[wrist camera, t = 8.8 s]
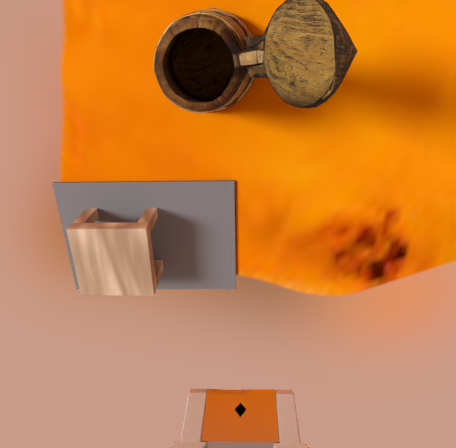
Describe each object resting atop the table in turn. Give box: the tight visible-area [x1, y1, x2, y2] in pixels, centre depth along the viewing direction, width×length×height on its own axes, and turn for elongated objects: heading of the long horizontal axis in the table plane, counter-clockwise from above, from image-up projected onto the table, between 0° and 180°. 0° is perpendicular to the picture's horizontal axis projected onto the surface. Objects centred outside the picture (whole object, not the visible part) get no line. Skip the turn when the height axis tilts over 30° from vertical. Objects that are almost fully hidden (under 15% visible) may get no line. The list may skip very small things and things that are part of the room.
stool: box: [66, 208, 163, 296], centre depth 41 cm, size 6×8×8 cm
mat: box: [53, 180, 236, 289], centre depth 44 cm, size 20×14×1 cm
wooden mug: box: [154, 0, 357, 113], centre depth 28 cm, size 9×14×18 cm, turn 96°
